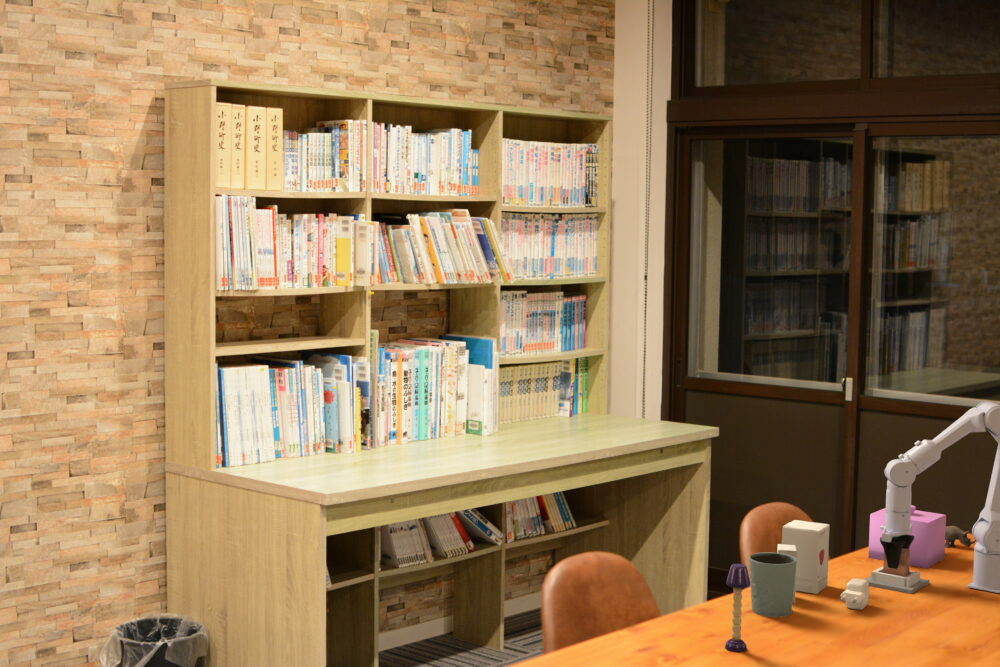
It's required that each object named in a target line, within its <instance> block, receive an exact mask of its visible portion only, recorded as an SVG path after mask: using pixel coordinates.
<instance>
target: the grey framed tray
mask: <svg viewBox="0 0 1000 667" xmlns="http://www.w3.org/2000/svg"><path fill="white" fill-rule="evenodd" d="M870 573H871V574H870V576H868V577H866V578H864V580H867V581H868V582H869V587H875V588H879V589H885V590H891V591H894V592H900V593H906V594H909V595H911V594H913V593H915V592H917V591H919V590H920V589H922V588H924V587H925V586H927V585H929V584H930V579H928V578H927V579H926V578H921V572H920V571H919V572H918V571H914V570H909V575H907V576H905V577H902V576H897V575H892V574H886V573H883V565H882V566H881V567H879V568H877V569H875V570H873V571H871V572H870Z"/></svg>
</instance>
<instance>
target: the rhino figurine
mask: <svg viewBox="0 0 1000 667" xmlns="http://www.w3.org/2000/svg"><path fill="white" fill-rule="evenodd" d="M968 534H970V530H967V531H964V530H962V529H960V527H958V526H955V525H949V526H947V525H946V533H945V549H950V548H957V545H956V544H955V542H956V540H957V541H959V543H960V544H961V545H964V546H965V547H967V548H971V546H972V545H973V544H976V543H977V541H976V540H975V539H974V540H973V541H972V538H971V537H970V538H968Z"/></svg>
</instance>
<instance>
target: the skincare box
mask: <svg viewBox="0 0 1000 667" xmlns="http://www.w3.org/2000/svg"><path fill="white" fill-rule="evenodd" d="M776 549H777V550H776V553H782V554H787V555H790V556H793V557H795V558H796V559H797V550H796V546H795V545H785V544H782V543H777V548H776ZM794 578H795V580H794V591H793V600H792V604H795V602H796V591H795V585H796V571H795V577H794Z"/></svg>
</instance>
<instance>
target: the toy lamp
mask: <svg viewBox="0 0 1000 667" xmlns="http://www.w3.org/2000/svg"><path fill="white" fill-rule="evenodd" d="M750 581H751V579H750V576H749V572H748V568H747V565H746V564H743V563H732V564H731V566H730V569H729V572H728V575H727V579H726V585H727V586H728V587H731V588H732V590H733V595H732V599H733V601H732V620H731V621H732V625H731V627H732V628H731V629H732V633H731V638H729V639H728V640H727V641H726V642H725V645H724V648H725V649H726V650H727V651H731V652H744V651H746V650H747V649H748V647H747V644H746V642H745V641H744V640H743V639H741V637H742V633H741V630H742V625H741V624H742V606H743V604H742V600H743V594H742V592H743V589H745V588H749V587H751V582H750Z"/></svg>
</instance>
